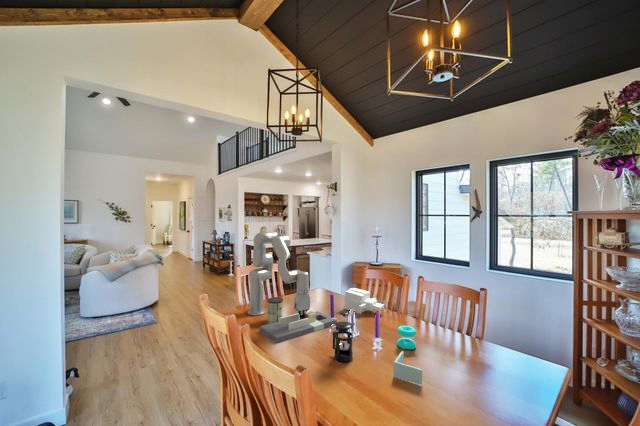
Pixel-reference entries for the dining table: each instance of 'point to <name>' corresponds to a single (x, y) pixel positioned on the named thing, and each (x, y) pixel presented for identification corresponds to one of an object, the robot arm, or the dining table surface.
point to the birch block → (310, 316)
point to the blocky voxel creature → (360, 301)
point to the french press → (343, 346)
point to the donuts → (406, 332)
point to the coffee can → (274, 309)
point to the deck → (295, 326)
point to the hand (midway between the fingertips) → (302, 320)
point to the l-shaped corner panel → (406, 370)
